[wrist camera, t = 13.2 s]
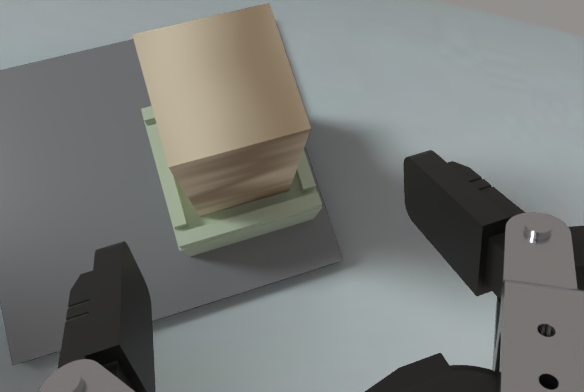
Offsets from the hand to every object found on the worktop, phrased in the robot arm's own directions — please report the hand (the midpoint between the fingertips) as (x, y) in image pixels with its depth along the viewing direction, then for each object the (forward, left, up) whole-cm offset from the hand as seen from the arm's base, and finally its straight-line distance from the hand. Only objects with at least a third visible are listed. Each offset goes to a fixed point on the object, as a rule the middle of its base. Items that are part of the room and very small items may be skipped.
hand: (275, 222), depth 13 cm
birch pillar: (0, +6, -12) cm, 13 cm away
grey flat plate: (-5, +8, -17) cm, 20 cm away
